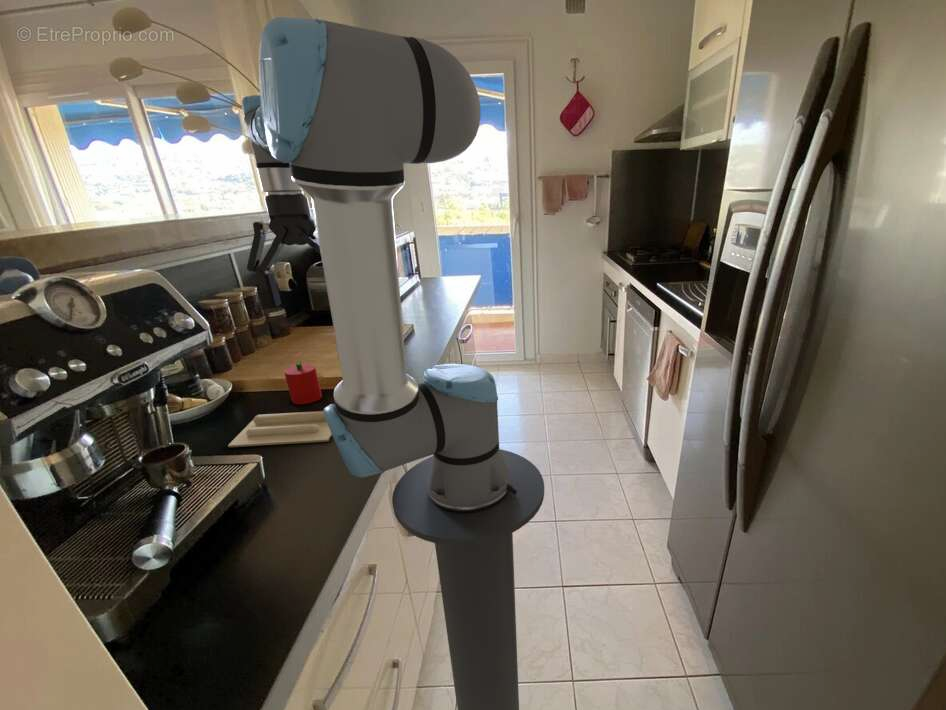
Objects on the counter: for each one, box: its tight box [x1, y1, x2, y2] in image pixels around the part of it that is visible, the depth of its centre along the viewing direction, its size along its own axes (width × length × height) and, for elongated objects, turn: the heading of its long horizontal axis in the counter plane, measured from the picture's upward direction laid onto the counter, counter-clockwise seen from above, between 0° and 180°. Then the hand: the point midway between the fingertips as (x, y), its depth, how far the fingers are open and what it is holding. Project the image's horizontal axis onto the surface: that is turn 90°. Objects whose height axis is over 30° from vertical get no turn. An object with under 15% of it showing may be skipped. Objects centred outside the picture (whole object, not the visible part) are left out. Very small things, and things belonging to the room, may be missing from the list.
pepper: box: [283, 362, 323, 405], centre depth 112 cm, size 7×7×9 cm
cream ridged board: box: [227, 410, 333, 448], centre depth 99 cm, size 20×14×2 cm
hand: (310, 304), depth 94 cm, fingers open, 13 cm apart
